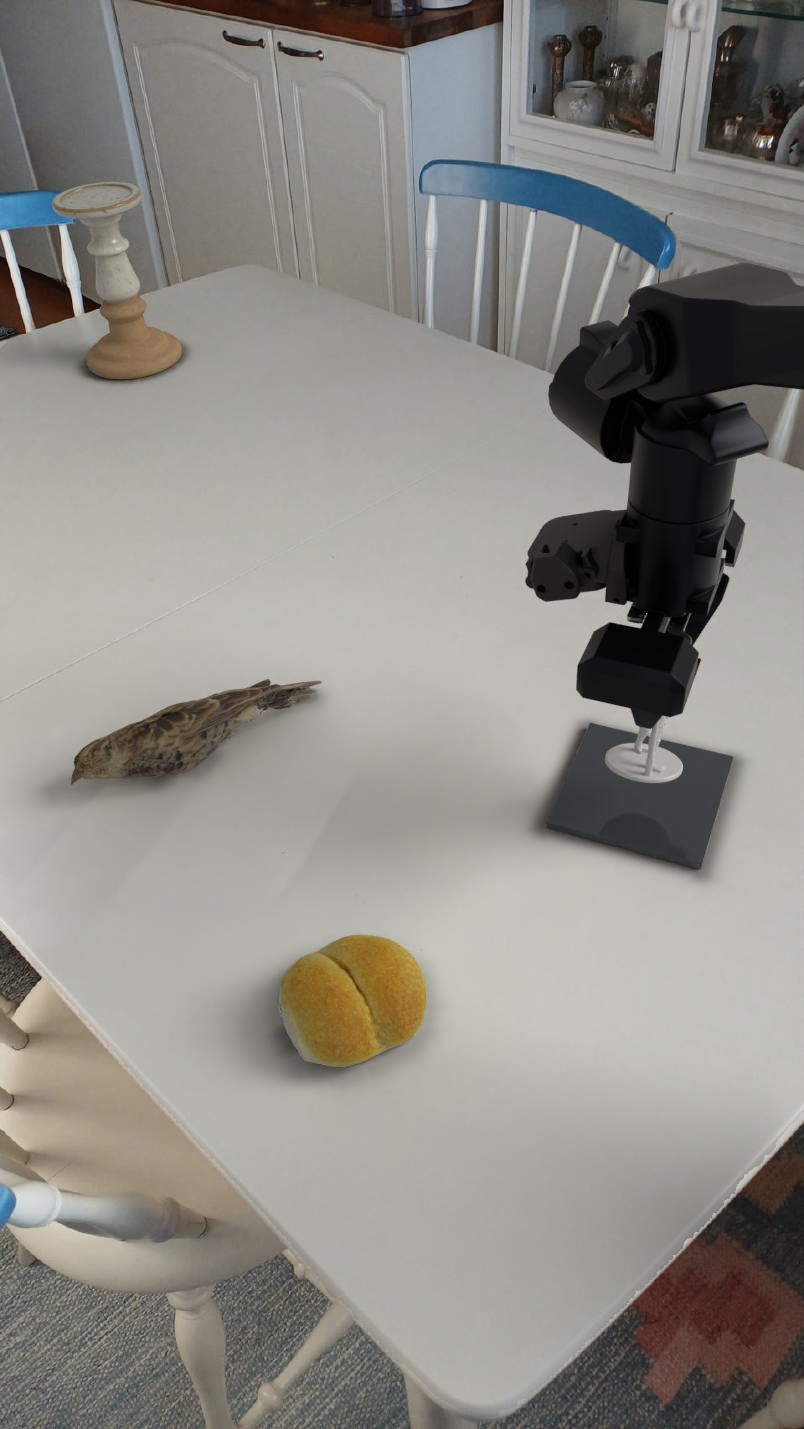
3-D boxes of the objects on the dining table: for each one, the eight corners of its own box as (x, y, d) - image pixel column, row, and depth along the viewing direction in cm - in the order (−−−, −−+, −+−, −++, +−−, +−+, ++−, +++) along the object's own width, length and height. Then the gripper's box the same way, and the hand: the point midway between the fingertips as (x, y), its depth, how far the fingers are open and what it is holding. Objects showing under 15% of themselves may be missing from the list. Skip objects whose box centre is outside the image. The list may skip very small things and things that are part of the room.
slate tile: (732, 761, 80) (734, 756, 80) (701, 869, 73) (702, 864, 73) (589, 727, 84) (589, 722, 84) (545, 827, 77) (545, 821, 76)
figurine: (685, 786, 71) (715, 617, 66) (605, 778, 72) (628, 609, 67) (679, 750, 76) (707, 589, 71) (604, 742, 77) (626, 582, 71)
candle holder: (185, 372, 136) (150, 204, 123) (87, 387, 135) (41, 218, 121) (179, 333, 145) (146, 173, 132) (87, 347, 144) (44, 186, 130)
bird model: (81, 807, 76) (53, 745, 77) (86, 822, 82) (60, 764, 83) (341, 695, 83) (313, 639, 84) (329, 717, 89) (302, 664, 89)
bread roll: (450, 1027, 65) (448, 990, 63) (316, 1094, 63) (307, 1059, 60) (389, 929, 71) (384, 892, 68) (263, 987, 68) (253, 951, 66)
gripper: (588, 407, 71) (577, 599, 81) (490, 561, 58) (492, 765, 69) (762, 430, 67) (728, 628, 77) (697, 600, 54) (667, 809, 65)
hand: (653, 700), depth 72 cm, fingers closed on figurine, 5 cm apart
